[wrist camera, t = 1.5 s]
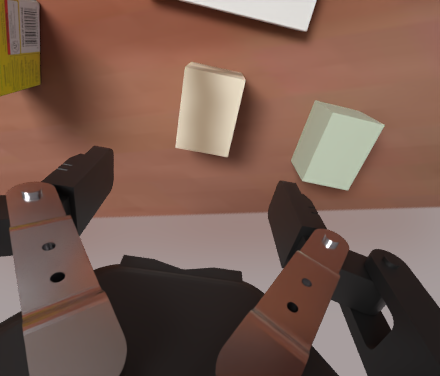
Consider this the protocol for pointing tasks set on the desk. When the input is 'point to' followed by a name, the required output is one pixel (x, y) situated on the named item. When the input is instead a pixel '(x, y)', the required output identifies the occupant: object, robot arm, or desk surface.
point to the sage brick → (334, 145)
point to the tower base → (266, 10)
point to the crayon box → (19, 45)
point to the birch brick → (209, 108)
